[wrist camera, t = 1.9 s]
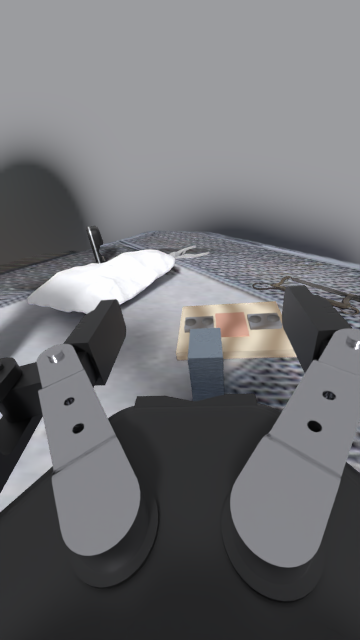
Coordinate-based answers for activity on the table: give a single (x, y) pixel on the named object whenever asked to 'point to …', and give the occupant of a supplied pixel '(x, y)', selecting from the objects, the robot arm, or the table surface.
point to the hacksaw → (332, 302)
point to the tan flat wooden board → (238, 329)
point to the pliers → (175, 254)
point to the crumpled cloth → (102, 281)
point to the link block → (206, 363)
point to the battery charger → (95, 243)
